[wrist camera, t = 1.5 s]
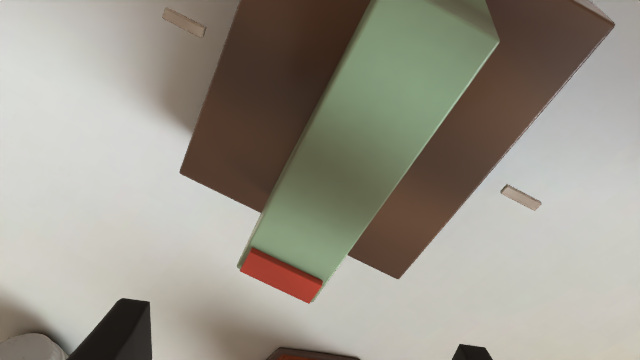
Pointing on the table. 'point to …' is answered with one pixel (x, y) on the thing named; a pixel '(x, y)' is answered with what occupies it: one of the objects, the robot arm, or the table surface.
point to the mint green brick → (366, 135)
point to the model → (303, 355)
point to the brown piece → (313, 76)
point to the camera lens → (31, 348)
